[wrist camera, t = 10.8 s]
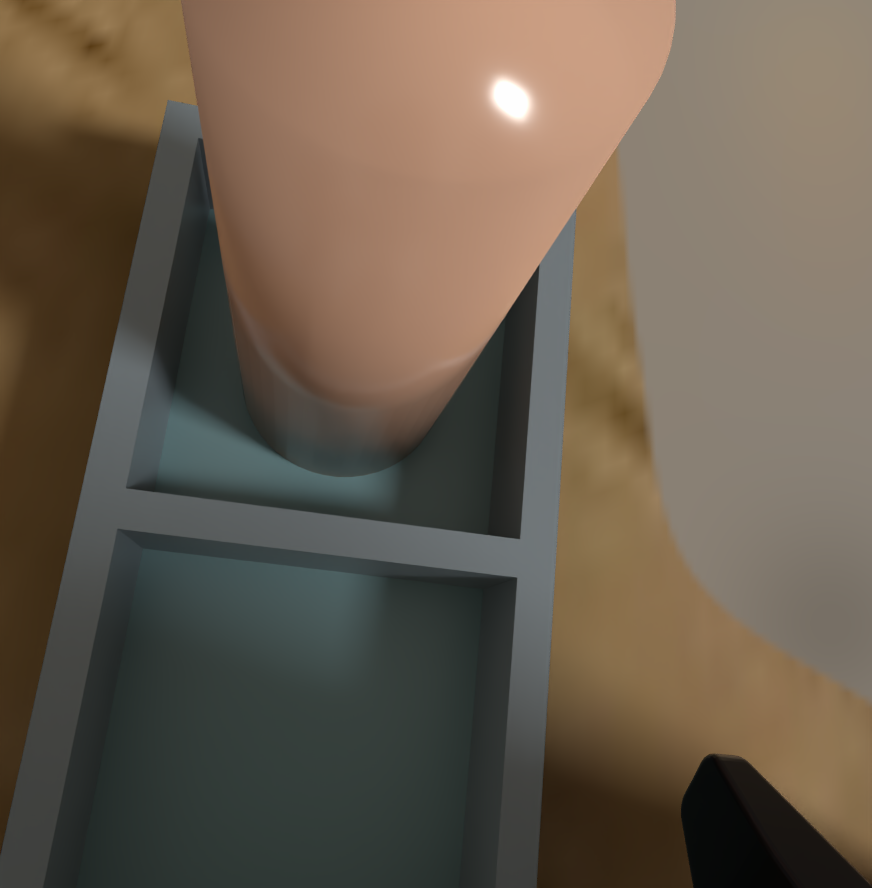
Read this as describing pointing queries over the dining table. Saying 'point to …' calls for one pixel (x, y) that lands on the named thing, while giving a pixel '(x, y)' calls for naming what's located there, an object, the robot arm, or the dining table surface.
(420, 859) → the divided tray
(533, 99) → the peach round cylinder
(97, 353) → the dining table surface
